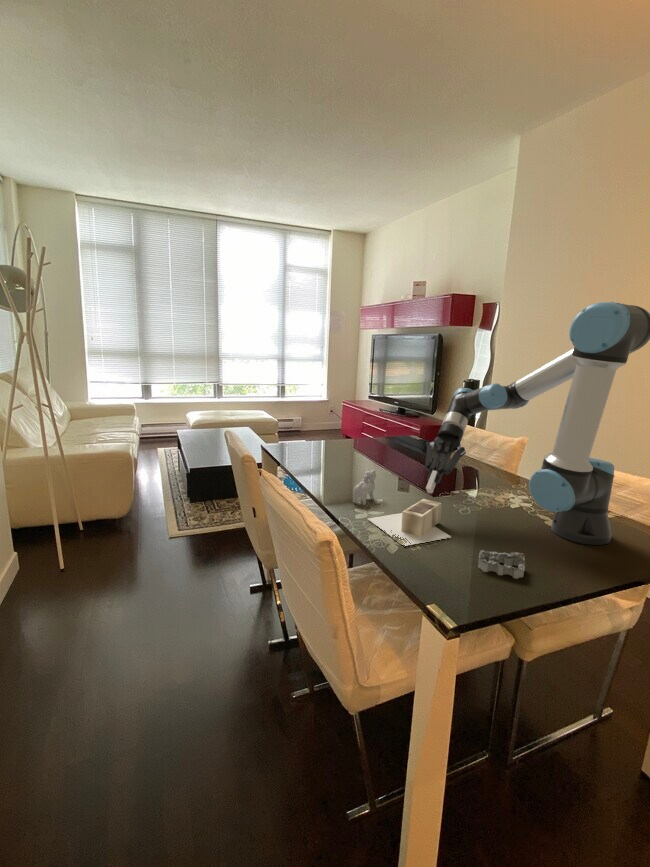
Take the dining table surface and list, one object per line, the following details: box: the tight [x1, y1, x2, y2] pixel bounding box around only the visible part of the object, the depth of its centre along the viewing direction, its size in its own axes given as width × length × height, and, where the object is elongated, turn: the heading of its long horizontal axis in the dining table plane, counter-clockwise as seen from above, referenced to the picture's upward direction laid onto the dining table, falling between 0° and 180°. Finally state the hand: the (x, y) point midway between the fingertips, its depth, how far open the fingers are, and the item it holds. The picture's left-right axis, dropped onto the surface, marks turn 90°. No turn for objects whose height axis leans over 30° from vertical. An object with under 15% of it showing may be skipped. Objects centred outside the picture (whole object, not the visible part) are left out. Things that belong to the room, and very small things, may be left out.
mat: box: [367, 512, 452, 546], centre depth 126 cm, size 20×16×1 cm
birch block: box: [401, 498, 442, 537], centre depth 126 cm, size 6×6×14 cm
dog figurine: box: [352, 468, 377, 506], centre depth 148 cm, size 5×13×11 cm, turn 151°
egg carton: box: [477, 549, 526, 580], centre depth 104 cm, size 11×8×4 cm
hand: (429, 490), depth 128 cm, fingers closed
